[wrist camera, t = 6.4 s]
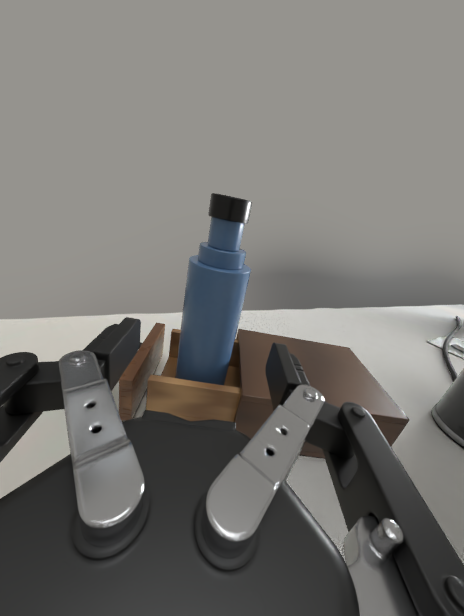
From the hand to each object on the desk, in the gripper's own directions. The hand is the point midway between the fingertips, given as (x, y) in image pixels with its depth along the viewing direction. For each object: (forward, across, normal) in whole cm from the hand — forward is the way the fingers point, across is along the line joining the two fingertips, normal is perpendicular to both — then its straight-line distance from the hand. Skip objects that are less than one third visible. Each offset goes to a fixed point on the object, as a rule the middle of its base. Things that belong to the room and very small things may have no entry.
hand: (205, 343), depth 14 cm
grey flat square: (+34, -64, +14) cm, 74 cm away
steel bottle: (+10, 0, +12) cm, 16 cm away
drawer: (+10, +2, +13) cm, 17 cm away
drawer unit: (+10, -12, +14) cm, 21 cm away
